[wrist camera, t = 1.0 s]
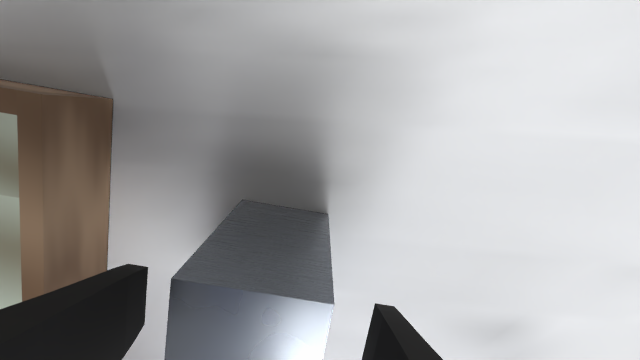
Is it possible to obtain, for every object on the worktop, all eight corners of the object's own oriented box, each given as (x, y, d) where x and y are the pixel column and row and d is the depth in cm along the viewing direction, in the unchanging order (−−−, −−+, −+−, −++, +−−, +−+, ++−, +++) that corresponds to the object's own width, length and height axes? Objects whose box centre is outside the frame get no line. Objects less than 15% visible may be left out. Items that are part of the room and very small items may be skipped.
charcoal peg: (313, 291, 15) (307, 434, 9) (232, 278, 15) (160, 412, 8) (328, 214, 15) (334, 304, 8) (242, 199, 14) (171, 278, 8)
